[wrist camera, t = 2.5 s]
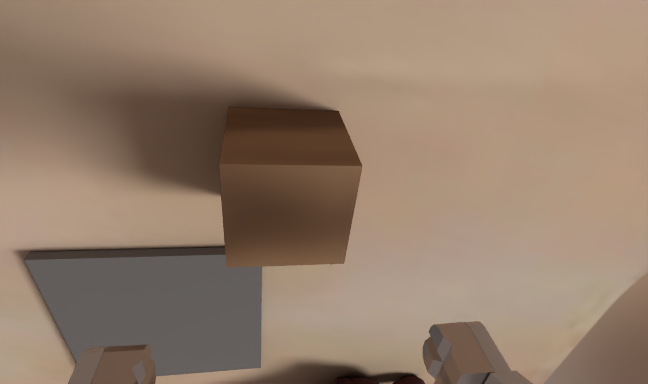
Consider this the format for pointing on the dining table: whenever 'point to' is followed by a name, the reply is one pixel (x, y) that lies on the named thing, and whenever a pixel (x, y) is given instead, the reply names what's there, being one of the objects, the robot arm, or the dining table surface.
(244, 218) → the cube
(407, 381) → the icecream
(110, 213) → the dining table surface
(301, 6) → the dining table surface
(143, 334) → the coaster
